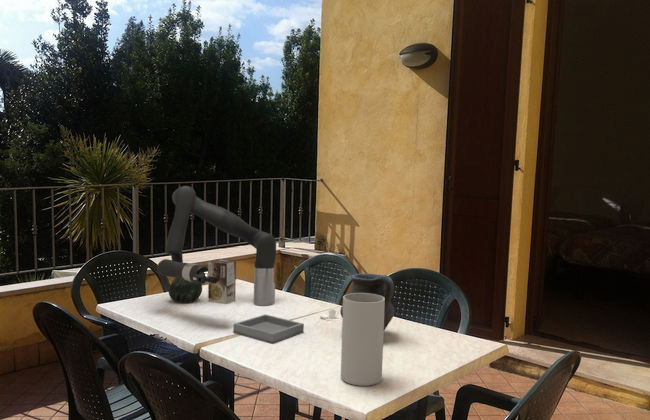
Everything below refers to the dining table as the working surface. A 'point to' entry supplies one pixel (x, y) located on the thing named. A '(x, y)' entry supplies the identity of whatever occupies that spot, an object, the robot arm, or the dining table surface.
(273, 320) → the tray
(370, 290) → the pitcher
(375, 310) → the cylinder vase
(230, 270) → the coffee box
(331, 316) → the teacup and saucer
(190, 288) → the squash
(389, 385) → the dining table surface
